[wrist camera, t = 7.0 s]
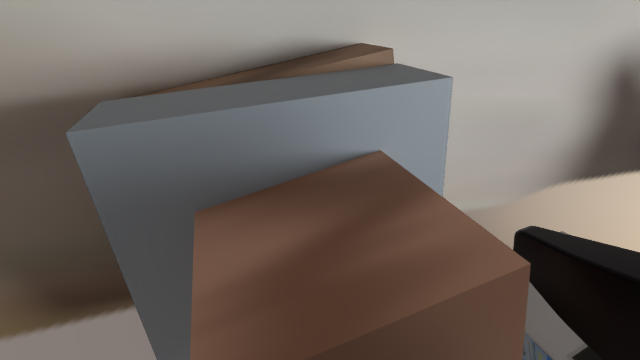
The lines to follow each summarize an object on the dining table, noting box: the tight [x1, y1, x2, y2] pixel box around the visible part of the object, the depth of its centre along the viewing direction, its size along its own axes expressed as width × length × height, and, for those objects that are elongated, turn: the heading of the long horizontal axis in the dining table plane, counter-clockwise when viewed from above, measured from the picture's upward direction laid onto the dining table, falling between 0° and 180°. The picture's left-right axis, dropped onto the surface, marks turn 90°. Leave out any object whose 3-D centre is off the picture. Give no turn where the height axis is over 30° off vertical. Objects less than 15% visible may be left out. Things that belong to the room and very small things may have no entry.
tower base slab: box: [135, 43, 394, 97], centre depth 14 cm, size 9×9×3 cm
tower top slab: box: [65, 63, 453, 360], centre depth 12 cm, size 9×9×3 cm
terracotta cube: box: [190, 150, 531, 360], centre depth 8 cm, size 5×5×5 cm
